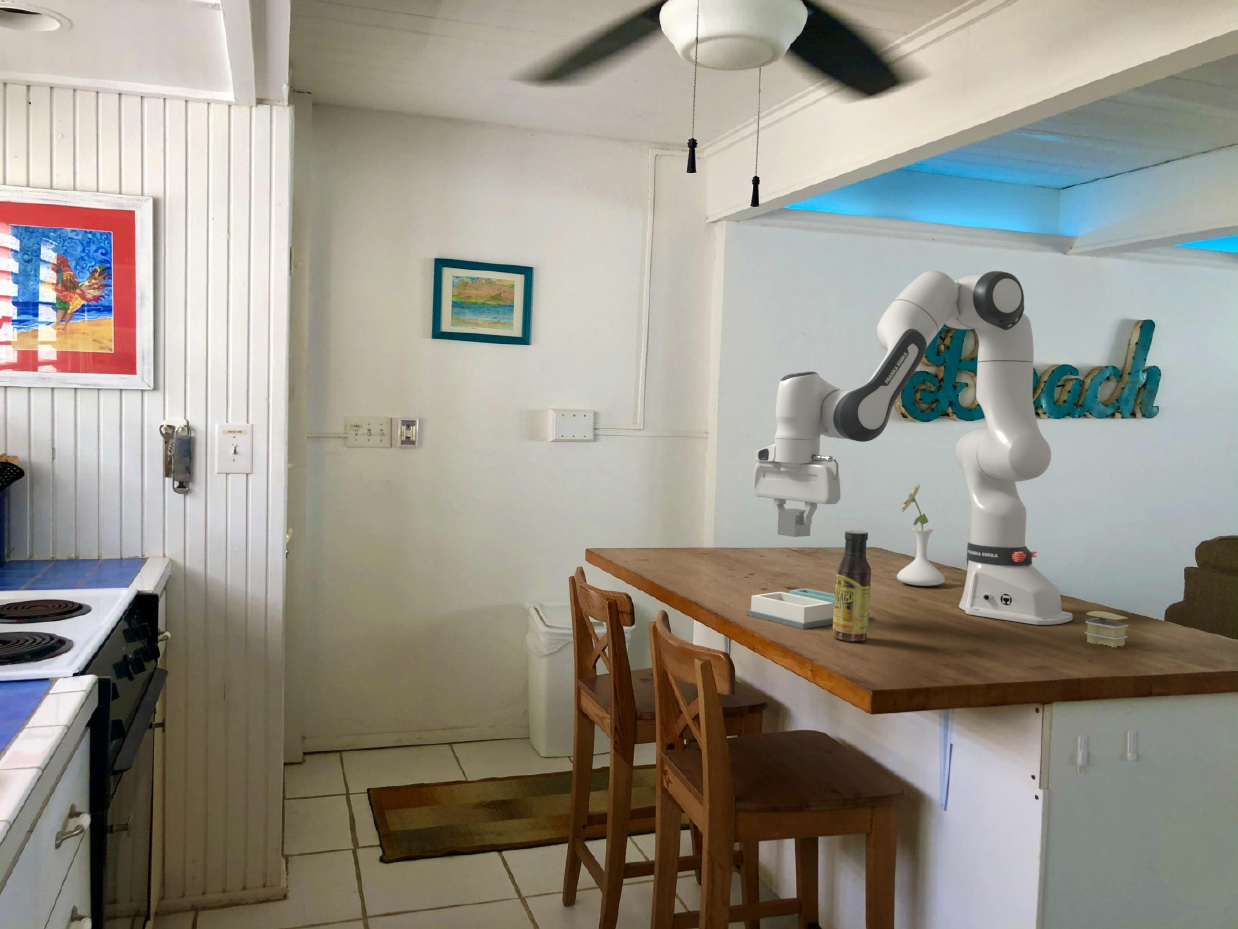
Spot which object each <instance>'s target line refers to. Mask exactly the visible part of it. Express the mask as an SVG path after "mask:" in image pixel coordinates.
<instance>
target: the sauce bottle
mask: <svg viewBox="0 0 1238 929" xmlns="http://www.w3.org/2000/svg"><path fill="white" fill-rule="evenodd" d="M868 539H869V532H867V531H866V530H865V531H864V530H855V529H849V530H846V531H845V532H844V540H845V543H844V544H845V546H844V552H843V556H842V558H841V561H840V563H839V565H838V569H837V571H836V576H835V587H834V594H835V602H834V617H833V624H832V632H833V633H832V634H833V637H834V638H835V639H837V640H839V641H843V642H847V643H848V642H850V643H851V642H852V643H853V642H854V643H855V642H864V641H866V640H867V638H868V635H867V634H868V629H869V619H870V615H869V613H870V604H871V601H870V600H871V589H872V588H871V586H872V584H871V577H872V568H871V566H870V564H869V562H868V559H867V541H868Z"/></svg>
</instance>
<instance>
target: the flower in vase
mask: <svg viewBox="0 0 1238 929" xmlns="http://www.w3.org/2000/svg"><path fill="white" fill-rule="evenodd" d="M920 487H921V486H920V483H918V484H916V485H914V487H913V488H912V489H913V490H912V491H910V492H909V493H908V498H907V499H906V500H904V501H903V503H902V506H901V507H900V511H901V513H902V512H904V511H906V510H907V508H909V507H910V505H911V504H912V503H914V504H915V505H916V508H917V510H918V513H919V516H917V517H916V518H915V519H914V521H913V523H912V525H913V526H916V525H917V524H918V523H920V526H921V527H913V528H911V530H912V532H913V533H914V535H915V536H914V537H915V539H916V555H915V559H914V560H913V561H911V563H909V564H908V565H906V566H904V568H902V569H901V570H899V572H898V573H897V575H896V578H897V580H898V581H899V582H901V583H904V584H907V585H911V586H918V587H932V586H939V585H941V584H943V583H944V582H945V581H946V578H945V575H944V574H943V573H941V572H940V571H939V570H938V569H937V567H935V566H934V565H933V564H932V563H931V562H930V561H929V559H928V554H927V552H928V551H927V550H928V549H927V548H928V542H929V537H930V535H931V534H932V533H933V532H934V529H932V528H925V527H924V525H925V524H928V523H929V519H928V518H927V516H926V514H925V513H923V514H922V512H921V509H920V507H919V505H918V502H917V501H916V498H915V497H916V496H917V494H918V492H919V490H920Z"/></svg>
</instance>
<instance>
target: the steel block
mask: <svg viewBox="0 0 1238 929" xmlns="http://www.w3.org/2000/svg"><path fill="white" fill-rule="evenodd" d="M805 511H806V509H802V508H785V509H778V513H777V535H779V536H785V537H793V538H798V537H810V536H811V525H801V524H800V521H801V520H800V516H804V513H805Z"/></svg>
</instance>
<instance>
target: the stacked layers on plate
mask: <svg viewBox="0 0 1238 929" xmlns="http://www.w3.org/2000/svg"><path fill="white" fill-rule="evenodd" d="M1085 614H1086V615H1087V616H1091V618H1088V619H1086V620H1085V623H1086V624H1087V630H1085V631H1084V634H1086V636H1087V637H1086V639H1087V640H1086V642H1087V643H1088V642H1089V644H1093V645H1094V644H1095V645H1100V644H1104V645H1108V646H1107V647H1109V646H1111V648H1113V647H1114V648H1118V647H1117V646H1121V647H1124V646H1123V645H1125V642H1126V640H1125V639H1127V638H1128V635H1126V627H1129V624H1127V623H1122V622H1120V621H1116V620H1123V619H1124V620H1125V619H1128V617H1126V616H1123V615H1119V614H1116V613H1112V612H1108V611H1100V610H1093V611H1089V612H1086V613H1085ZM1104 645H1103V646H1104ZM1125 646H1126V645H1125Z"/></svg>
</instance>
